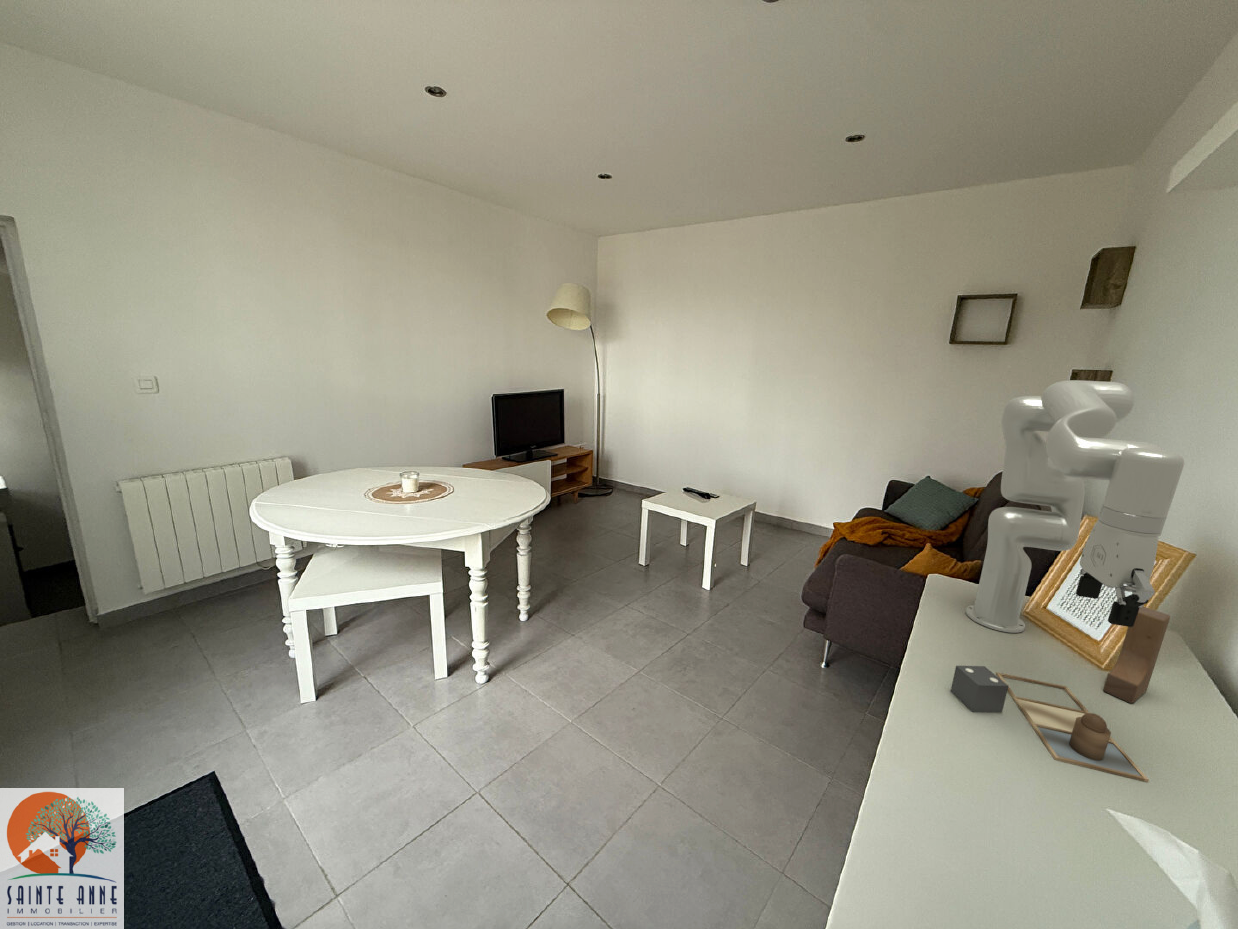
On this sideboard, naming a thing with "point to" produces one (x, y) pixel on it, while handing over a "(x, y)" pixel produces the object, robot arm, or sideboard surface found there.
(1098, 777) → the sideboard surface
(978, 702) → the die
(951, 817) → the sideboard surface
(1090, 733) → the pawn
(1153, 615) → the wooden block
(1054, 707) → the board
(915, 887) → the sideboard surface
